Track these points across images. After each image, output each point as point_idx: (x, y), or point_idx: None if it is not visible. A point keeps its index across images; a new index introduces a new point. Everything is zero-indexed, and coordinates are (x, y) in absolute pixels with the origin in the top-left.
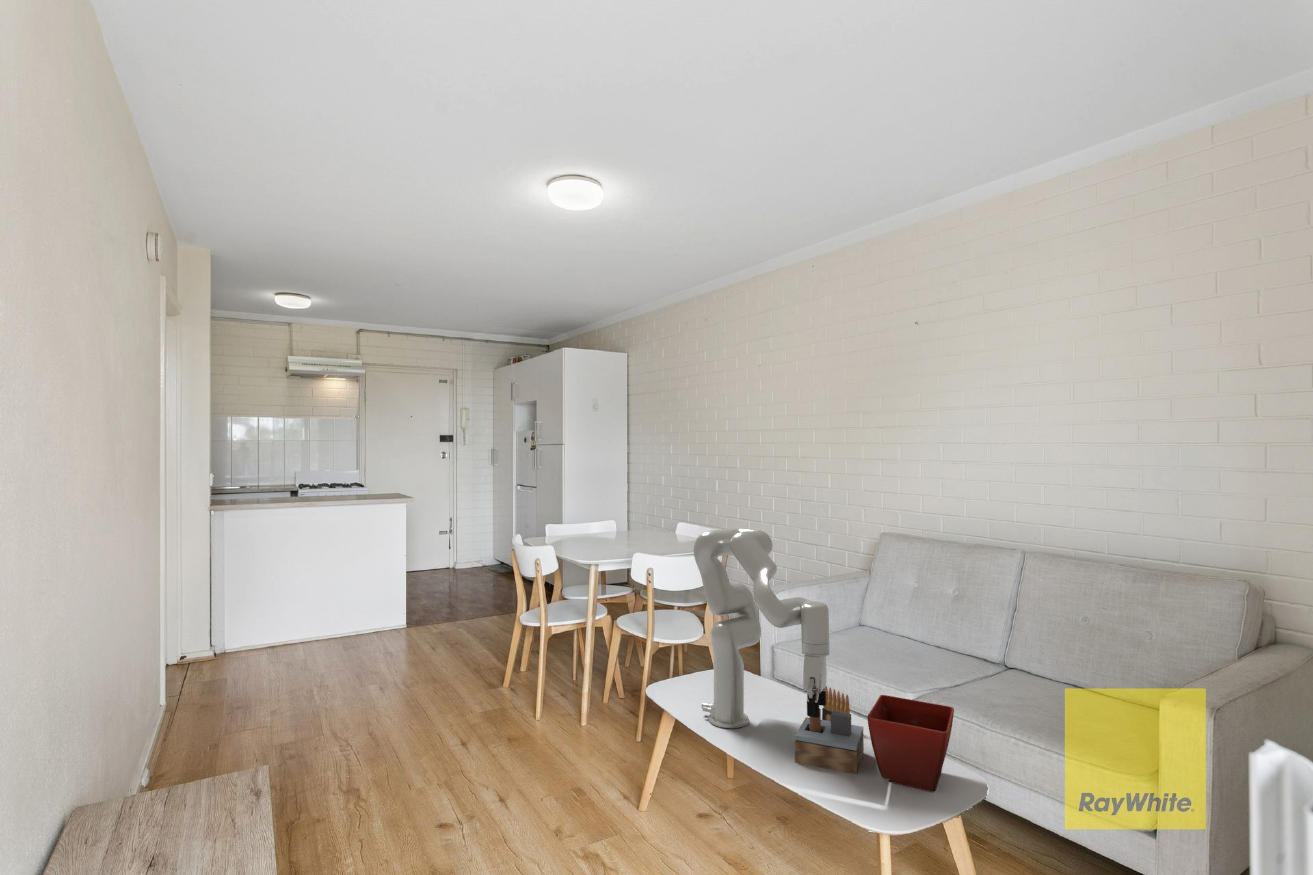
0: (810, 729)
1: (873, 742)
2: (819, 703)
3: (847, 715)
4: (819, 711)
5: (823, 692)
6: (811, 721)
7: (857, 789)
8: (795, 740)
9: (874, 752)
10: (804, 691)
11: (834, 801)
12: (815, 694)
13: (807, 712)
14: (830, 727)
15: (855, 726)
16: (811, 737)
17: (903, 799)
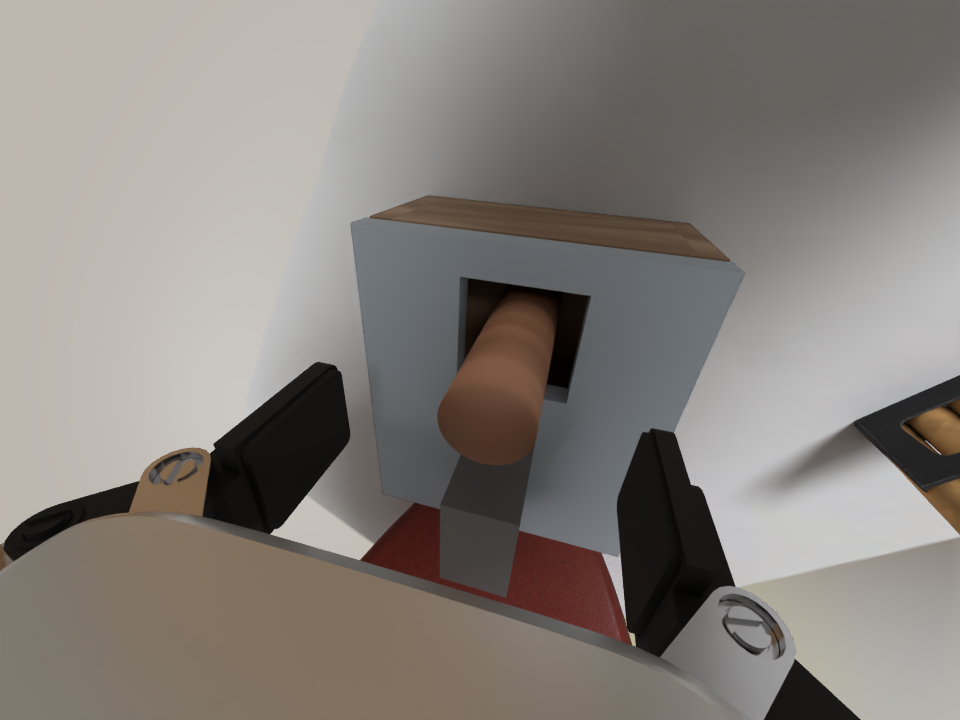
0: (495, 314)
1: (360, 560)
2: (630, 475)
3: (470, 576)
4: (464, 448)
5: (631, 622)
6: (473, 347)
7: (364, 406)
8: (377, 217)
9: (392, 526)
10: (120, 514)
11: (265, 345)
12: (658, 523)
13: (303, 376)
14: (561, 424)
15: (612, 529)
16: (372, 324)
17: (372, 490)
